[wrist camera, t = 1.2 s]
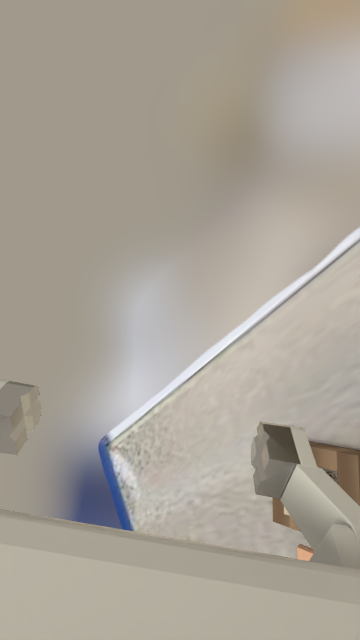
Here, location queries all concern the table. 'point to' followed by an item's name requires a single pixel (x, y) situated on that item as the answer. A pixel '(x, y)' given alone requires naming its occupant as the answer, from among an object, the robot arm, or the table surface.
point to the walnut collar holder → (351, 465)
